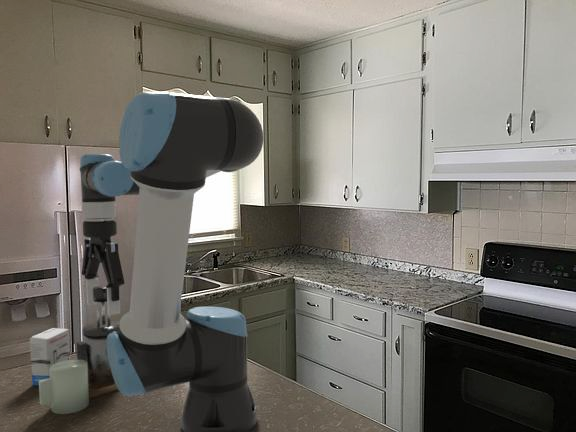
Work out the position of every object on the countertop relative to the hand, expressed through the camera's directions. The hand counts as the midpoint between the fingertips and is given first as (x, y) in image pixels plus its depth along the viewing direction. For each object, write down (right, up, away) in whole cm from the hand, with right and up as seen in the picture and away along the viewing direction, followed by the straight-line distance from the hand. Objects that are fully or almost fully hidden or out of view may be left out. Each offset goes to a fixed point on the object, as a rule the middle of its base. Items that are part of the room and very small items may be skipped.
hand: (103, 309), depth 119 cm
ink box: (-14, -18, +3) cm, 23 cm away
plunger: (0, -4, 0) cm, 4 cm away
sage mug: (-4, -19, -12) cm, 23 cm away
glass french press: (0, -18, +1) cm, 18 cm away
